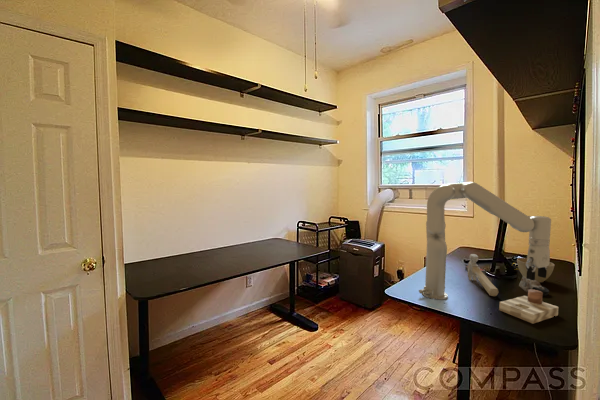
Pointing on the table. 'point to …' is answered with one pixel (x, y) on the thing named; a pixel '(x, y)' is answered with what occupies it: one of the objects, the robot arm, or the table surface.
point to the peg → (535, 297)
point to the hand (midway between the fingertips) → (536, 278)
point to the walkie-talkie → (479, 268)
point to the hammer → (480, 276)
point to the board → (528, 309)
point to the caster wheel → (532, 286)
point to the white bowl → (523, 268)
